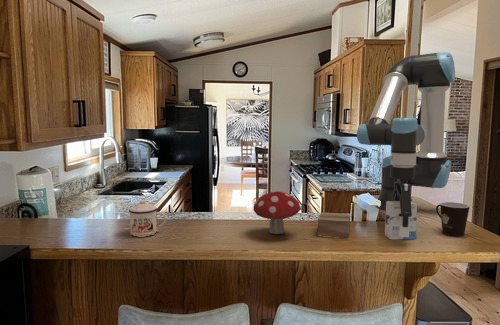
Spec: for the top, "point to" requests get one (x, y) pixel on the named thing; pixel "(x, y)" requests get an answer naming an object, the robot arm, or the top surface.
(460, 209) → the coffee mug
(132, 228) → the teacup with lid
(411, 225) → the ink box
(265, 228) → the top surface
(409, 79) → the robot arm
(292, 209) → the decorative mushroom
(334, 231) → the taupe block
